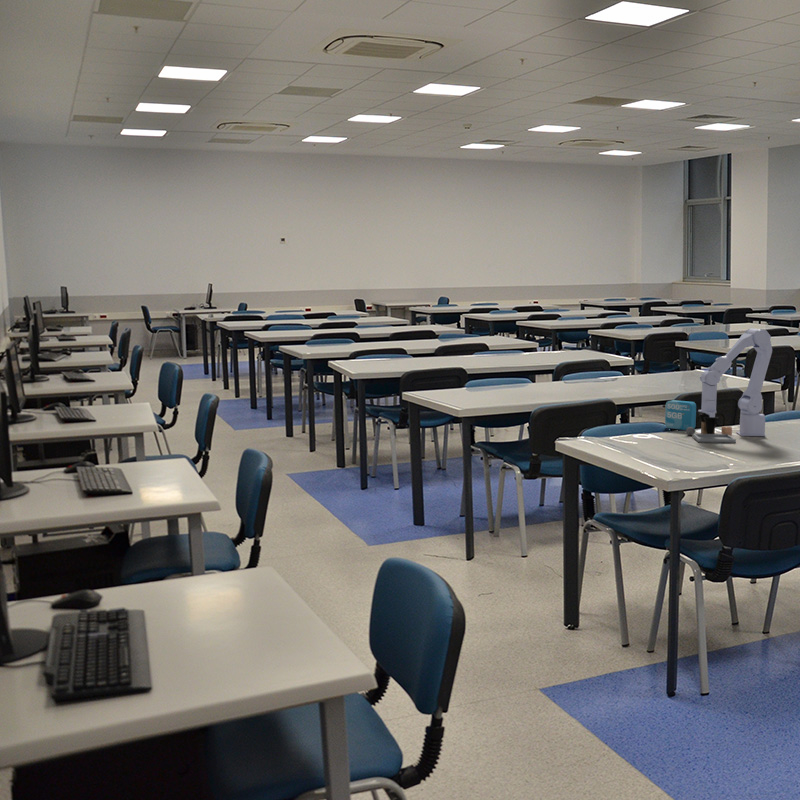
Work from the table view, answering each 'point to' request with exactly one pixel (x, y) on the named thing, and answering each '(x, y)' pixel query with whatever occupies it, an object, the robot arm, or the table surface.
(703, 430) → the walnut block
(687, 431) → the rubber ball
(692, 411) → the data package
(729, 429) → the peach rounded tapered piece
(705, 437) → the tray
